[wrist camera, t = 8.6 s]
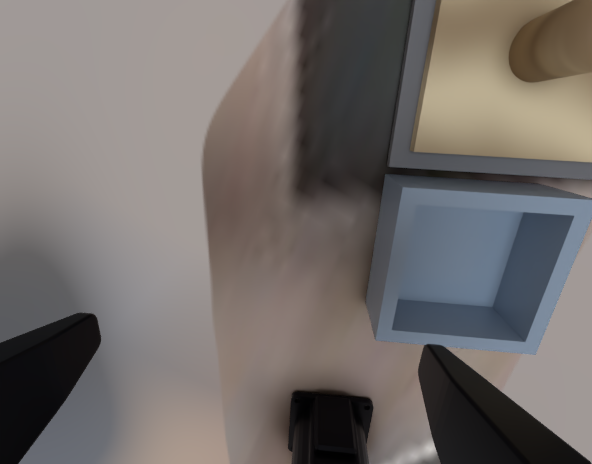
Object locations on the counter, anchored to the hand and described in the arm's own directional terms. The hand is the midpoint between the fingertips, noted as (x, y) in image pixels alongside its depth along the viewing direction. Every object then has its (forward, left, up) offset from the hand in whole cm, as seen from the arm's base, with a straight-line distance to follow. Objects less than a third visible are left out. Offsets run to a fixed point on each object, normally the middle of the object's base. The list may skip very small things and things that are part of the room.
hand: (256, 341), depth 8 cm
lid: (+9, -12, -11) cm, 19 cm away
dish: (-2, -10, -12) cm, 16 cm away
